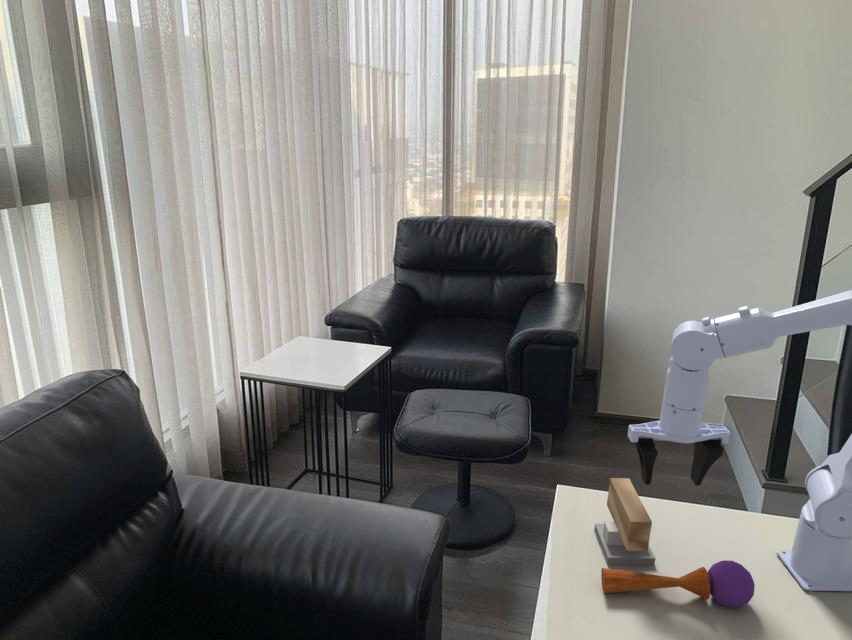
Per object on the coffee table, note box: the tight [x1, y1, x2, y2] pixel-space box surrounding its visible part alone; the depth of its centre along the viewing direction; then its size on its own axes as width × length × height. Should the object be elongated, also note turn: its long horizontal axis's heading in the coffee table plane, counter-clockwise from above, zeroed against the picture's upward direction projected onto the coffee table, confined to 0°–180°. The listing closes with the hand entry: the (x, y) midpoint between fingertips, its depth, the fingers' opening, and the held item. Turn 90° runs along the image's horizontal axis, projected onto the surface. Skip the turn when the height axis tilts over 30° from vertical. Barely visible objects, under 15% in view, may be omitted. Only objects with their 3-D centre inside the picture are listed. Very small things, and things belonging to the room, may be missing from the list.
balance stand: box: [593, 521, 656, 566], centre depth 98 cm, size 7×8×4 cm
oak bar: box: [606, 477, 653, 551], centre depth 96 cm, size 3×11×5 cm, turn 0°
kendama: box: [600, 560, 756, 608], centre depth 88 cm, size 6×6×20 cm
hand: (670, 481), depth 98 cm, fingers open, 7 cm apart
